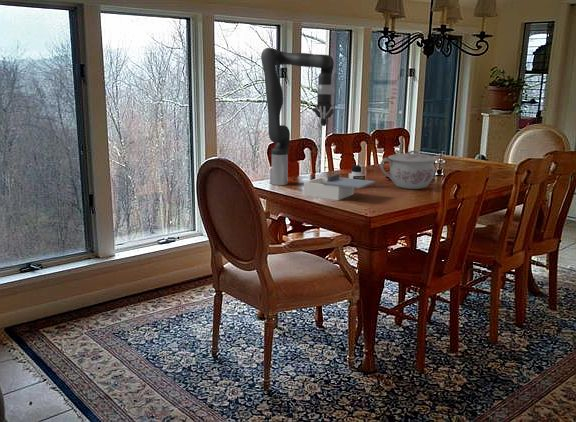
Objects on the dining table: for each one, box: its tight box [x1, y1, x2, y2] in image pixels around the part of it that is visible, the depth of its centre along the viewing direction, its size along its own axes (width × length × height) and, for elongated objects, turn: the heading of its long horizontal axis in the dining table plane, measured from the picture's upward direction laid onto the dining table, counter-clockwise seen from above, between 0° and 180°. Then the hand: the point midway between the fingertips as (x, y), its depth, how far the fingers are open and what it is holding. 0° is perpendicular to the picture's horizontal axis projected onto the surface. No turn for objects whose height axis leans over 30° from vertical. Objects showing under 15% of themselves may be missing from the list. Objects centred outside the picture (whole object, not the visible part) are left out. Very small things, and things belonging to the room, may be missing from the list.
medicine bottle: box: [348, 164, 366, 189], centre depth 312 cm, size 7×7×12 cm
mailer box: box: [303, 177, 355, 201], centre depth 290 cm, size 20×18×7 cm
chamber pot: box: [379, 150, 439, 190], centre depth 311 cm, size 28×28×21 cm
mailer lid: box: [322, 173, 376, 189], centre depth 282 cm, size 21×19×3 cm
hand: (323, 125), depth 303 cm, fingers closed
